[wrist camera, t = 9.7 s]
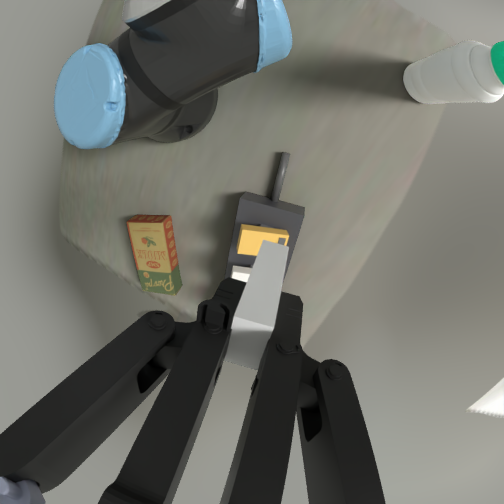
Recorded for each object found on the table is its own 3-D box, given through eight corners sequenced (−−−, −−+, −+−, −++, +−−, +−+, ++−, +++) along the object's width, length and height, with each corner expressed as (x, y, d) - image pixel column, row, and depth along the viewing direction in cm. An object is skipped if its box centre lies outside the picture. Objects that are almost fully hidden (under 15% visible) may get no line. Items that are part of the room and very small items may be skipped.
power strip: (222, 306, 57) (216, 320, 53) (255, 144, 41) (249, 147, 37) (268, 319, 56) (265, 335, 52) (317, 161, 40) (319, 165, 36)
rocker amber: (236, 247, 42) (237, 254, 41) (241, 224, 40) (242, 229, 39) (279, 252, 44) (282, 258, 42) (286, 230, 42) (289, 236, 40)
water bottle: (446, 94, 29) (552, 94, 8) (417, 111, 32) (519, 117, 11) (423, 57, 28) (517, 21, 6) (393, 72, 31) (479, 35, 9)
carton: (172, 214, 50) (162, 222, 46) (183, 286, 57) (175, 297, 53) (136, 213, 51) (124, 221, 47) (150, 281, 59) (141, 292, 55)
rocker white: (229, 285, 46) (229, 292, 45) (233, 265, 44) (233, 272, 43) (269, 289, 47) (270, 297, 46) (275, 271, 45) (276, 278, 44)
